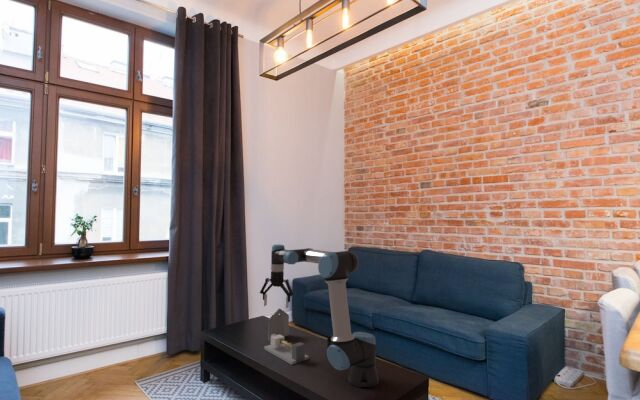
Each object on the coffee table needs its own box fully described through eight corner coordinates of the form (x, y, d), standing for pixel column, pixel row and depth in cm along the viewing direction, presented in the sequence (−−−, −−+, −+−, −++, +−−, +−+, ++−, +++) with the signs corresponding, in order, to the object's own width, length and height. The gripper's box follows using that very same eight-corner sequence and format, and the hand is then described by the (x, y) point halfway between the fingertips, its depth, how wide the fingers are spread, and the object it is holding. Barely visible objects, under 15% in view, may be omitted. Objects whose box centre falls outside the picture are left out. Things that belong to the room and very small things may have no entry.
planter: (281, 332, 245) (282, 303, 245) (288, 335, 239) (289, 306, 240) (261, 337, 234) (262, 308, 234) (268, 341, 228) (269, 310, 228)
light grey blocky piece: (308, 358, 202) (308, 342, 202) (291, 364, 194) (291, 348, 195) (280, 344, 223) (280, 329, 224) (264, 349, 216) (264, 334, 216)
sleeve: (284, 344, 214) (284, 336, 214) (275, 346, 209) (275, 339, 210) (279, 341, 218) (279, 334, 218) (270, 344, 213) (270, 336, 213)
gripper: (299, 270, 214) (298, 306, 214) (259, 268, 218) (258, 302, 218) (296, 273, 206) (294, 310, 206) (255, 270, 211) (254, 306, 211)
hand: (276, 306), depth 212 cm, fingers open, 13 cm apart
